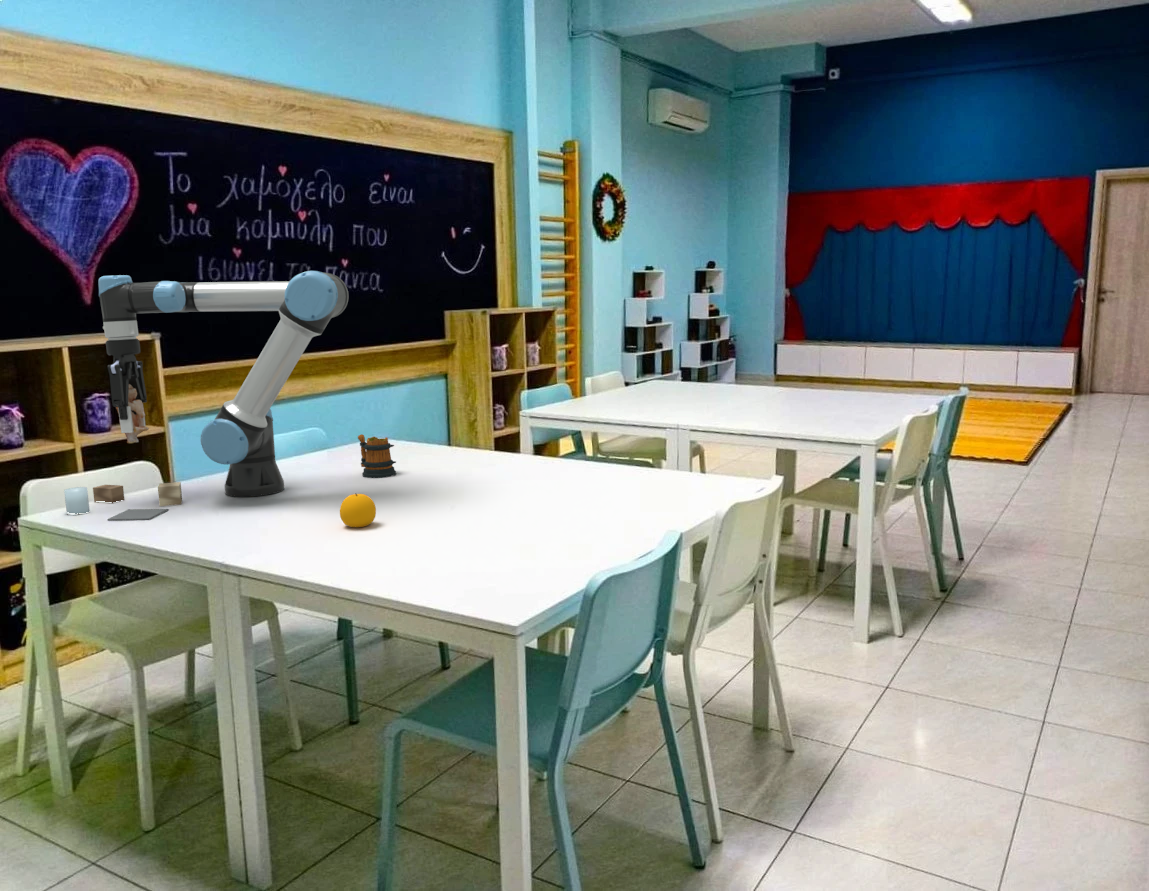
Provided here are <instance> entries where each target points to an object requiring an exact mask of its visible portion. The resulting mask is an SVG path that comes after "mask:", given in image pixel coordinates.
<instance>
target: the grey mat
mask: <svg viewBox="0 0 1149 891" xmlns="http://www.w3.org/2000/svg"><path fill="white" fill-rule="evenodd" d="M169 510H170V509H169V508H138V509H137V508H134V509H133V508H132V509H131V508H130V509H126V510H124V511H122V512H119V513H118V514H115V515H114V516H112V517H109V518H107V521H109V522H110V521H111V522H112V521H115V522H116V521H117V522H118V521H119V522H121V521H151V520H153V519H154V518H156V517H158V516H160V515H162V514H164V513H166V512H168V511H169Z"/></svg>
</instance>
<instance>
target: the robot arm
mask: <svg viewBox="0 0 1149 891" xmlns="http://www.w3.org/2000/svg"><path fill="white" fill-rule="evenodd" d="M348 290H349V289H348V288H347V285H346V283H345V282H344V281H343V280H342V279H341V278H340V277H339V276H337V275H335V274H333V273H331V272H322V271H318V270H307V271H304V272H301V273H298V274H296V275H294V276H293V277H292V278H291V279H290V280H289V281H287V280H285V281H217V282H216V281H212V282H211V281H210V282H209V281H208V282H200V281H199V282H194V281H193V282H192V281H191V282H187V281H186V282H180V281H175V280H174V281H170V280H161V281H148V282H146V281H145V282H133V280H132V277H131V276H130V275H127V274H126V275H124V274H123V275H121V274H119V275H103V276H101V277H99V278H98V297H99V302H100V307H101V314H102V322H103V324H102V325H103V326H102V329H103V330H104V337H105V339H107V340H106V341H105V346H106V347H105V348H106V354H107V355H108V356H113V361H112V364H108V365H107V371H108V375H109V382H110V383H109V384H110V393H111V394H110V395H111V396H110V397H111V405H112V406H113V407H114V408H116V407H118V411H119V414H118V417H119V420H120V422H119V425H120V433H121V434H125V433H132V432H134V431H133V423H132V415H131V407H130V406H128V389H129V384H130V385H131V386H132V387H133V388H135V389H136V392H137V396H136V398H135V400H141V401H142V404H143V405H144V403H147V402H148V399H147V397H148V396H147V388H146V385H145V378H144V372H143V366H144V365H143V364H144V363H143V361H142V360H137V358H136V355H138V354H141V344H140V339H138V338H137V337H138V336H140V335H139V328H138V327H139V326H138V321H137V320H138V319H137V314H159V313H166V314H167V313H189V312H193V313H194V312H197V313H198V312H278V314H279V317H280V320H279V322H277V325H276V327H275V328H274V330H273V331H272V334H271V335H270V336H269V338H268V339H267V342H266V343H265V345H264V347H263V348H262V351H261V352H260V354H259V356H258V357H257V359H256V361H255V362H254V364H253V366H252V368H251V369H250V371H249V372H248V374H247V376H246V378H245V380H244V381H243V383H242V385H241V386H240V387H239V390H238V391H237V393H236V395H235V396H234V397H233V399H231V400H228V401H224V403H223V404H222V406H221V408H220V410H219V411H218V413H217V415H216V416H215V418H214V419H213V420H210V422H209V421H208V423H207V424H206V425H205V426H204V428H202V431H201V434H200V445H201V448H202V451H203V452H204V454H205V455H206V456H207V457H208V458H209V459H210V460H211V461H213V462H215V463H217V464H220V465H229V467H228V472H227V474H226V479H225V483H224V494H225V495H226V496H229V497H239V498H240V497H242V498H243V497H261V496H266V495H267V496H268V495H272V494H275V493H276V494H277V493H279V492H280V493H281V492H282V491H283V490H285V481H284V478H283V476H282V474H281V471H280V469H279V467H278V465H277V461H276V452H275V450H276V448H275V434H274V423H273V422H274V418H273V413H272V412H273V411H272V410H271V407H272V406H273V404H274V402H275V401H276V399H277V398H278V396H279V394H280V393H281V391H282V389H283V387H284V386H285V384H286V383H287V380H288V379H289V377H290V376H291V374H292V372H293V370H294V368H295V367H296V365H297V364H298V362H299V360H300V359H301V357H302V355H303V353H304V352H305V350H306V349H307V347H308V345H309V344H310V342H311V340H312V339H313V338H314V337H317V336H321V335H322V334H323V332H324V331H325V329H326V327H327V325H328V324H329V322H330V321H331V319H332V318H335V317H338V316H339V315H341V314H342V313H343V312H344V311H345V309H346V308H347V306H348V302H349V291H348ZM118 411H117V412H118ZM142 419H143V421H144V426H145V427H147V425H146V416H145V417H144V418H142Z"/></svg>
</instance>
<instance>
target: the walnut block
mask: <svg viewBox="0 0 1149 891" xmlns="http://www.w3.org/2000/svg"><path fill="white" fill-rule="evenodd" d="M124 490H125V489H124V485H120V484H119V485H118V484H101V485H98V486H94V487H92V493H93V502H94V503H97V502H96V501H105V502H112V503H111V504H114V503H113V502H116V501H119V502H122V501H121V500H123V501H125V491H124ZM116 503H117V502H116Z"/></svg>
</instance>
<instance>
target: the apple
mask: <svg viewBox="0 0 1149 891" xmlns="http://www.w3.org/2000/svg"><path fill="white" fill-rule="evenodd" d="M376 514H377V508H376V504H375V502H374V501H373V499H372V498H371V497H370V496H368V495H366V494H363V493H357V492H356V493H353V494H349V495H348V496H346V497H345V498H344V499H343V500H342V502H341V504H340V508H339V516H340V519H341V522H343V524H344V525H346V526H348V527H350V528H363V527H367V526H369V525H370V524H372V523H373V522H374V521H375V519H376Z"/></svg>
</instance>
